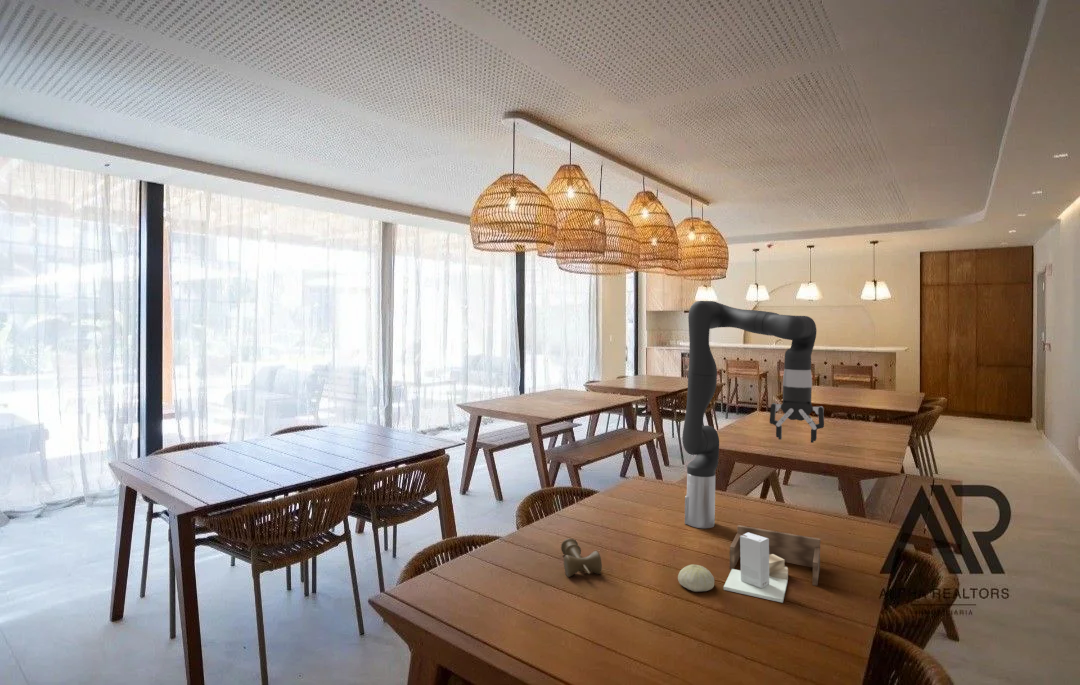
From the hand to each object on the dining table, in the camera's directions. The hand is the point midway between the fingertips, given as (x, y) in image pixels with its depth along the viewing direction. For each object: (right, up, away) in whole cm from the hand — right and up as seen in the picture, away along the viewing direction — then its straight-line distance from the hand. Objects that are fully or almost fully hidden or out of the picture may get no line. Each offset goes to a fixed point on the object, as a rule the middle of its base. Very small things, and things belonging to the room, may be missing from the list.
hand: (796, 440), depth 164 cm
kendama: (-63, -35, -7) cm, 73 cm away
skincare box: (-19, -34, -17) cm, 42 cm away
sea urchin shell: (-34, -35, -17) cm, 51 cm away
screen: (-9, -34, -6) cm, 36 cm away
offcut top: (-12, -32, -11) cm, 36 cm away
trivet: (-18, -35, -17) cm, 43 cm away
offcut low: (-12, -35, -11) cm, 38 cm away
